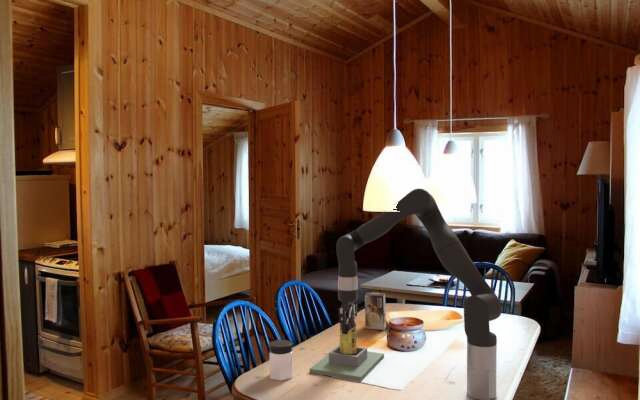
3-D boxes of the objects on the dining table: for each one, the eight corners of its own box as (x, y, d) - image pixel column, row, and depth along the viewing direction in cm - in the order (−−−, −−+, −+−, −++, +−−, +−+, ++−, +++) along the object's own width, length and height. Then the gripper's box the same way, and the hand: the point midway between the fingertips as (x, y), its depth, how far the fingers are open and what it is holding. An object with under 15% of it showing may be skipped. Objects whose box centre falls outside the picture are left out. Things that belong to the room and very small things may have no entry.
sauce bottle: (355, 359, 197) (354, 307, 196) (338, 359, 199) (338, 306, 198) (357, 353, 204) (357, 302, 203) (341, 353, 205) (340, 302, 204)
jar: (264, 377, 190) (263, 344, 189) (277, 370, 197) (276, 338, 196) (285, 382, 185) (284, 348, 185) (297, 374, 192) (297, 342, 192)
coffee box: (386, 326, 251) (386, 292, 250) (384, 330, 245) (384, 295, 244) (367, 325, 254) (367, 291, 253) (364, 328, 248) (364, 294, 247)
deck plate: (361, 381, 186) (361, 365, 185) (309, 372, 194) (309, 357, 194) (384, 357, 209) (383, 343, 209) (337, 350, 217) (337, 337, 217)
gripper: (350, 292, 192) (350, 338, 193) (363, 284, 205) (364, 327, 206) (331, 290, 195) (331, 335, 196) (345, 283, 208) (346, 325, 209)
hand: (348, 331), depth 201 cm, fingers closed on sauce bottle, 6 cm apart
